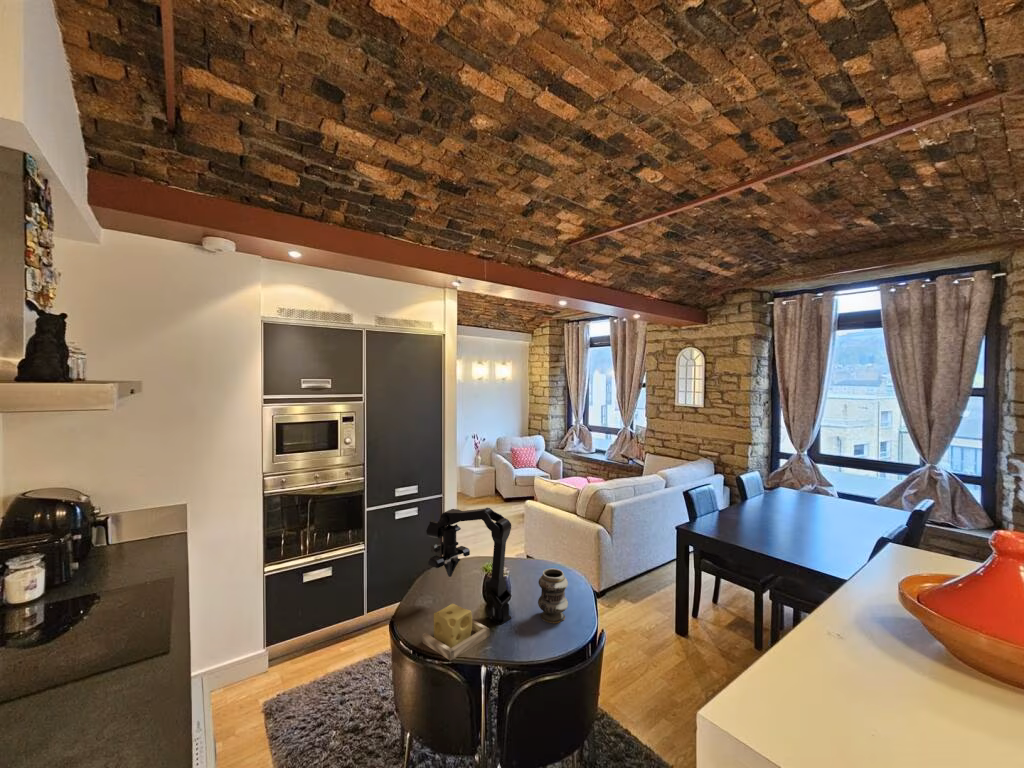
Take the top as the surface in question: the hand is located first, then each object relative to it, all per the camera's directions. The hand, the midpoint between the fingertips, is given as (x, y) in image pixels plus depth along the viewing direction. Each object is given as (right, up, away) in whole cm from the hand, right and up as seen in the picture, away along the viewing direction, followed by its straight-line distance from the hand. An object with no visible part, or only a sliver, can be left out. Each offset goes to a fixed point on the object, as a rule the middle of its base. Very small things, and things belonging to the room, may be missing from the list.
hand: (449, 576), depth 186 cm
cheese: (+4, -13, -24) cm, 28 cm away
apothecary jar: (+43, -12, -10) cm, 46 cm away
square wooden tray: (+5, -12, -25) cm, 28 cm away
